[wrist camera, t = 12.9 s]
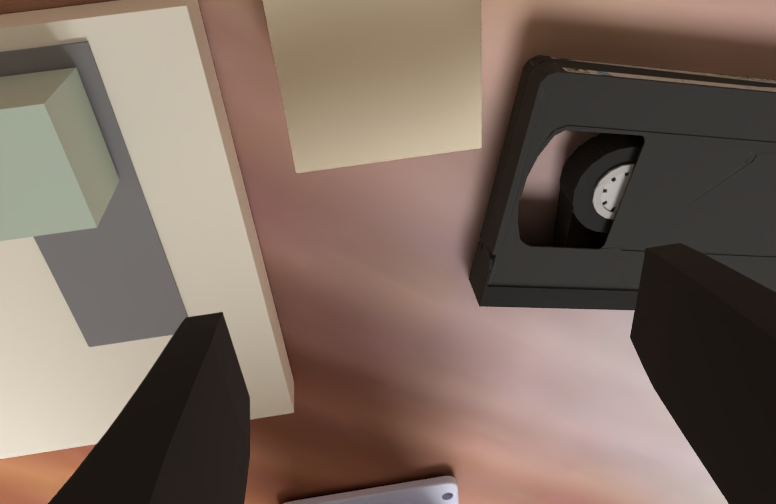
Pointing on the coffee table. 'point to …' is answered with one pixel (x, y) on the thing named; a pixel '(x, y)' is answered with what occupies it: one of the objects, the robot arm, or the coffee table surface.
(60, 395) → the white base plate
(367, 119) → the block
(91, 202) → the tab
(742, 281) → the robot arm
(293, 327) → the coffee table surface
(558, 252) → the vhs tape
